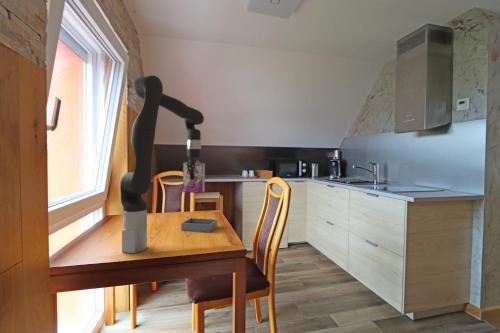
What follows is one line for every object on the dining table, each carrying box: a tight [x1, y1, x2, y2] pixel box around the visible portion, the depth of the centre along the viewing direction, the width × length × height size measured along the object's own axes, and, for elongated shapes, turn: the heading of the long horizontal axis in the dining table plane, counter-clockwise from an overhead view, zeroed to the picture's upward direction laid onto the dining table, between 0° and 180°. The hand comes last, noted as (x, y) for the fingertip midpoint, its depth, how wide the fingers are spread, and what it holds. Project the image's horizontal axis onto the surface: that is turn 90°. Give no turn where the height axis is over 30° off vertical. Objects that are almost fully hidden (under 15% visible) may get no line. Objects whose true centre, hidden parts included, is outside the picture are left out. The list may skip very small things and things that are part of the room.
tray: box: [180, 217, 218, 234], centre depth 138 cm, size 12×17×4 cm
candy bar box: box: [182, 162, 206, 194], centre depth 137 cm, size 11×5×16 cm, turn 85°
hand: (194, 178), depth 137 cm, fingers closed on candy bar box, 5 cm apart
